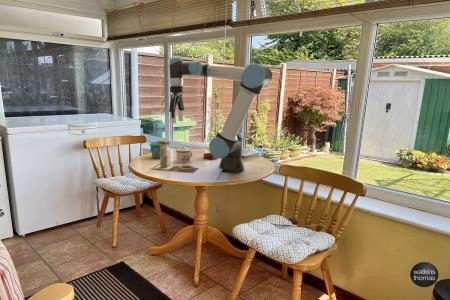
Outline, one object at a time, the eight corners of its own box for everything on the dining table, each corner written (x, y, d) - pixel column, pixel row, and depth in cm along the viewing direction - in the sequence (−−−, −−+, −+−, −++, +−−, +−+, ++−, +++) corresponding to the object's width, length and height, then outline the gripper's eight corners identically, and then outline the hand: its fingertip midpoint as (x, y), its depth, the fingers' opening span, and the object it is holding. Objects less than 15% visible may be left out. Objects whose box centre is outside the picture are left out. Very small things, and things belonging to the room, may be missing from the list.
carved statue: (170, 166, 181) (170, 141, 178) (168, 168, 177) (167, 142, 174) (159, 165, 182) (159, 140, 179) (156, 167, 178) (156, 141, 175)
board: (199, 170, 182) (199, 165, 181) (192, 175, 170) (193, 170, 169) (158, 166, 187) (158, 162, 186) (149, 171, 175) (149, 166, 175)
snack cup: (145, 156, 214) (145, 142, 212) (159, 154, 220) (159, 140, 218) (156, 160, 202) (155, 145, 200) (170, 158, 209) (170, 144, 206)
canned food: (207, 163, 219) (211, 150, 222) (219, 163, 213) (222, 150, 216) (198, 158, 211) (201, 144, 213) (209, 158, 205) (212, 144, 207)
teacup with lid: (182, 166, 191) (182, 147, 188) (173, 163, 196) (173, 145, 194) (196, 162, 199) (196, 145, 197) (187, 160, 205) (187, 143, 203)
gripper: (177, 86, 189) (177, 120, 193) (162, 85, 165) (163, 124, 169) (188, 86, 188) (189, 120, 192) (175, 85, 164) (176, 124, 168)
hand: (177, 122), depth 181 cm, fingers open, 13 cm apart
